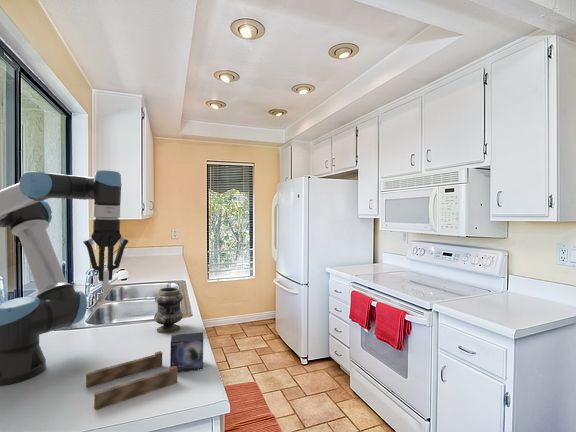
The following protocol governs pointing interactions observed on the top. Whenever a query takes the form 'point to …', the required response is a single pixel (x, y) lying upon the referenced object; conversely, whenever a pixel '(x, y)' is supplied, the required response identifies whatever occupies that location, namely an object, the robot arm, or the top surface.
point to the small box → (187, 351)
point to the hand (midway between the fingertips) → (105, 290)
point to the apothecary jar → (168, 309)
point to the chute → (131, 387)
